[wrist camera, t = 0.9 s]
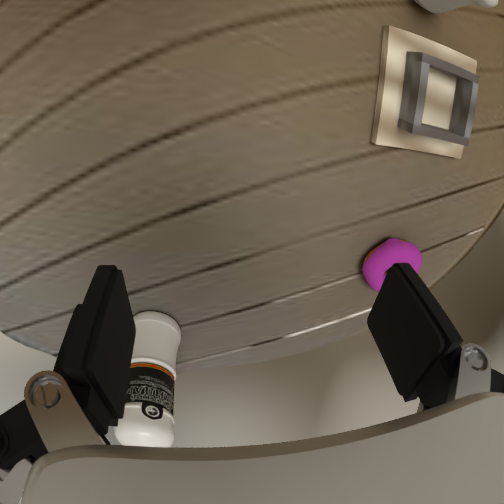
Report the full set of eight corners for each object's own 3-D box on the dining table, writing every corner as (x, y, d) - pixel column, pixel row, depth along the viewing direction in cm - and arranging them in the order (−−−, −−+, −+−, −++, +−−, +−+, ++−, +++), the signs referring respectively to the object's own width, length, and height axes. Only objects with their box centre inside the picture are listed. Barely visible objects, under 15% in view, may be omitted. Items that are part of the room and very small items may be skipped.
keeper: (383, 26, 27) (404, 24, 23) (470, 60, 29) (493, 64, 25) (370, 141, 36) (389, 152, 32) (454, 155, 38) (475, 167, 34)
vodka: (121, 329, 50) (96, 493, 26) (143, 299, 47) (118, 488, 22) (165, 349, 54) (159, 506, 30) (191, 323, 51) (193, 501, 26)
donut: (350, 256, 47) (361, 274, 43) (402, 220, 44) (416, 235, 40) (373, 291, 52) (383, 308, 48) (418, 259, 49) (431, 275, 45)
